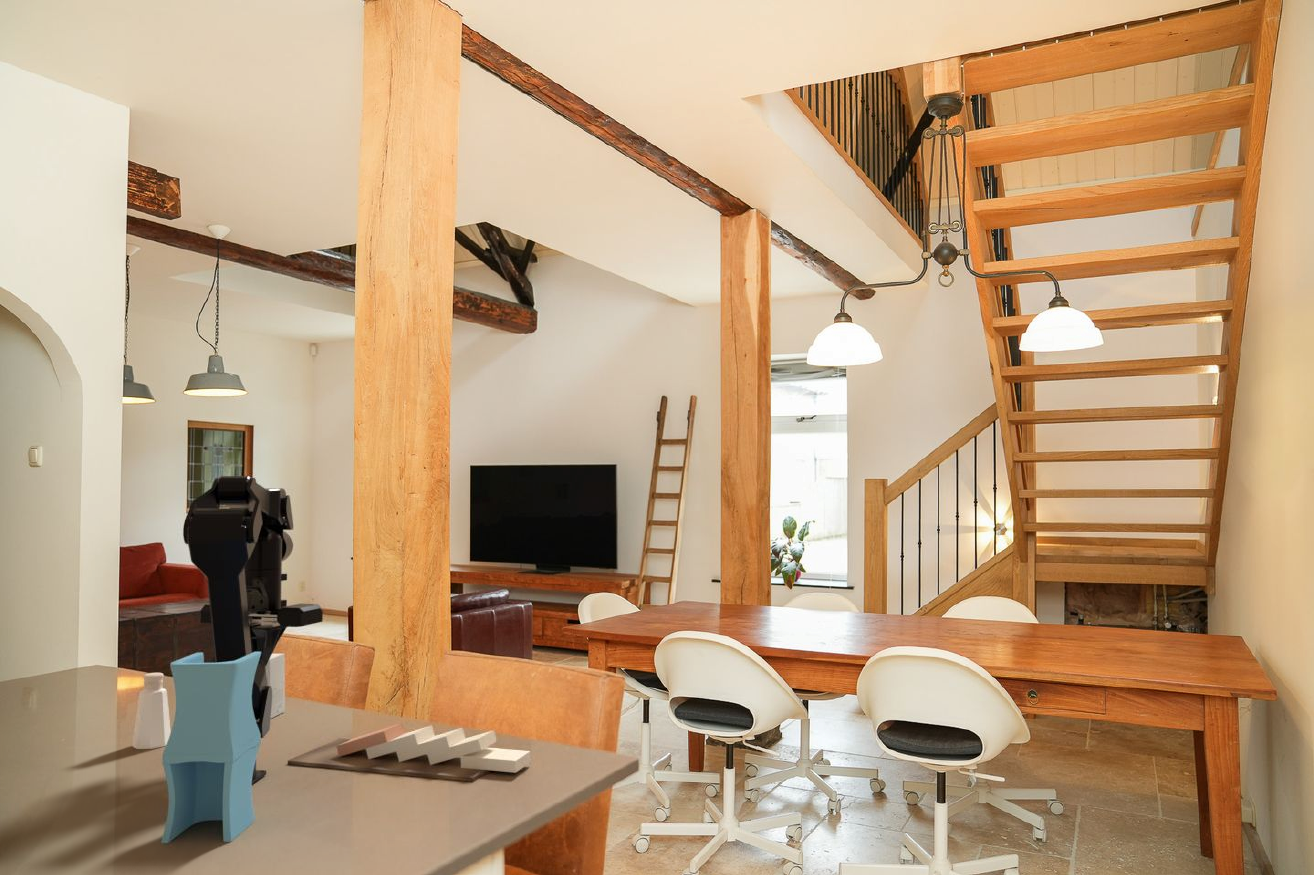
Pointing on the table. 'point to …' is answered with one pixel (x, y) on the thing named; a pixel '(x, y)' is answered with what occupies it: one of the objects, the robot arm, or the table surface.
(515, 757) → the domino
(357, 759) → the walnut board
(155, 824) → the table surface
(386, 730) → the terracotta domino
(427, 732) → the domino
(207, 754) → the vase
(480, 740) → the domino
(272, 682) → the small box
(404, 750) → the domino
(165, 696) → the pepper shaker
